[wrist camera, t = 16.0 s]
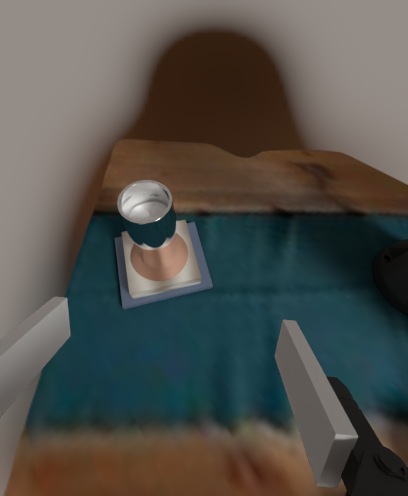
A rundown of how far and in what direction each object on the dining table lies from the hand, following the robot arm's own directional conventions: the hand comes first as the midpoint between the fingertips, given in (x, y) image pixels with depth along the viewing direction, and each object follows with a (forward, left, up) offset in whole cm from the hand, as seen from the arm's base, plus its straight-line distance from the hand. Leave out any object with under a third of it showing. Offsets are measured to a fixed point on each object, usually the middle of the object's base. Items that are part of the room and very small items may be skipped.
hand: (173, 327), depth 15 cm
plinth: (+1, -17, -26) cm, 31 cm away
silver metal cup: (+1, -17, -23) cm, 29 cm away
